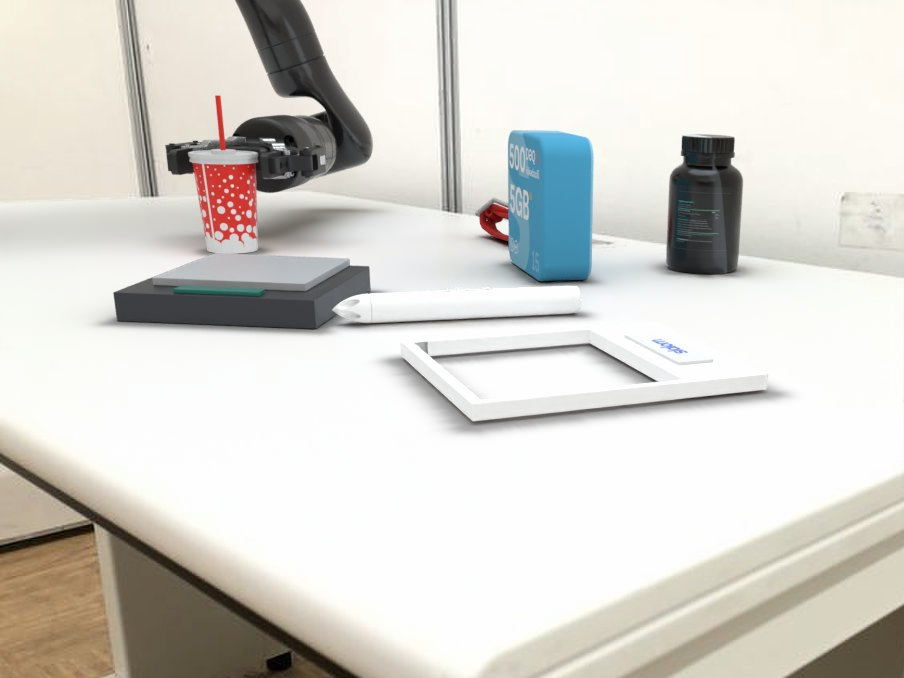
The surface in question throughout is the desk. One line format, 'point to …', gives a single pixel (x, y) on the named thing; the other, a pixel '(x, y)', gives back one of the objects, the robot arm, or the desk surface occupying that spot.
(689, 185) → the supplement bottle
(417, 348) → the photo frame
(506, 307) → the marker
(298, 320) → the scale
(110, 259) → the desk surface
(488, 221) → the tracker holder
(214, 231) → the beverage cup
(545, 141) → the data package
